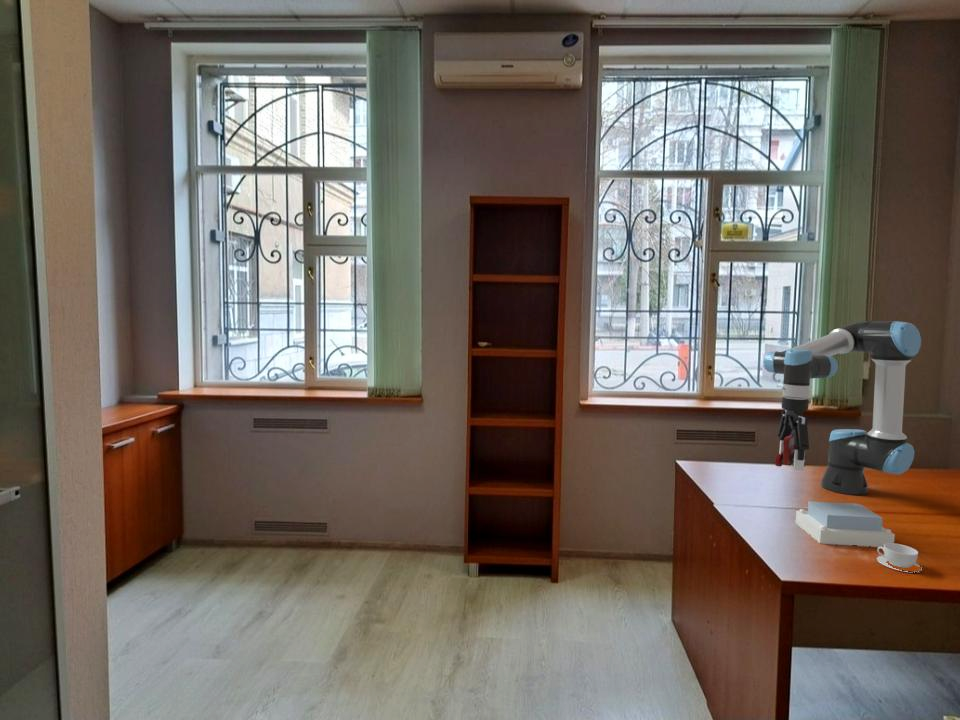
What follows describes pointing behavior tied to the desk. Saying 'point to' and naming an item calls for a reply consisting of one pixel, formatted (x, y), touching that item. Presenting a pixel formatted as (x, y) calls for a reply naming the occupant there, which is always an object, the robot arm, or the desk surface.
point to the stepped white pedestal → (843, 524)
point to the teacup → (898, 556)
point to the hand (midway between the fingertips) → (790, 464)
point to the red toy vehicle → (787, 452)
